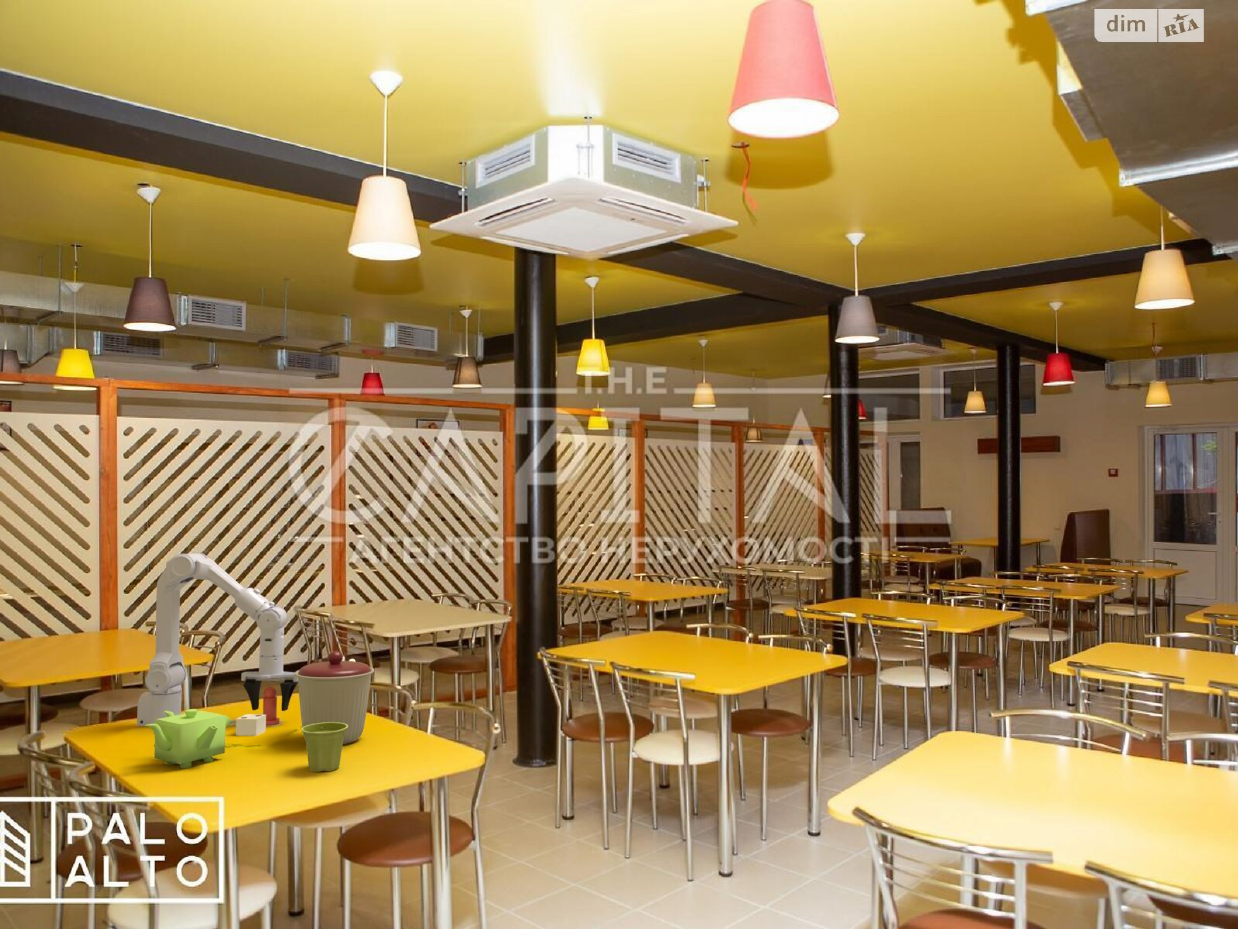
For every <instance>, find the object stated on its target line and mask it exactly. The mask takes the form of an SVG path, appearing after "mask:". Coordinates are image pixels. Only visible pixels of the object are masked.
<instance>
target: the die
mask: <svg viewBox="0 0 1238 929" xmlns="http://www.w3.org/2000/svg"><path fill="white" fill-rule="evenodd" d="M235 720H236V726H235V736H239V737H240V736H242V737H243V736H245V737H257V736H259V735H261V734H263V733H265V732H266V731H267V730H266V729H267V728H266V727H267V726H266V715H263V714H257V713H256V714H252V713H251V714H250V713H247V714H244V715H242V716H240V717H237V718H236V719H235Z"/></svg>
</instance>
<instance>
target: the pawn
mask: <svg viewBox="0 0 1238 929" xmlns="http://www.w3.org/2000/svg"><path fill="white" fill-rule="evenodd" d="M276 695H277V690H276V688H275V687H273V686H269V687H267V688H265V689H264V692H263V696H264V697H263V698H262V703H263V704H262V715H266V727H271V726H270V725H276V724H279V721H280V718H279V717H277V714H278V712H277V710H278V709H277V708H278V706H277V705H278V696H276ZM279 725H280V724H279Z"/></svg>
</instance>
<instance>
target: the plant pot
mask: <svg viewBox="0 0 1238 929" xmlns="http://www.w3.org/2000/svg"><path fill="white" fill-rule="evenodd" d="M347 728H348V725H347V724H345V723H338V722H324V723H316V724H310V725H307V726H304V727H303V728H302V727H301V733H302V734H303V738H304V740H305V747H306V754H307V762H308V763H307V764H308V769H309V770H308V771H311V772H314V773H320V772H322V771H323V772H324V771H326V772H332V771H335V770H337V769H338V768H339V767H340V765H341V763H340V762H341V758H342V752H343V751H342V750H343V745H344V744H343V739H344V735H345V732H346V729H347Z"/></svg>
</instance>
